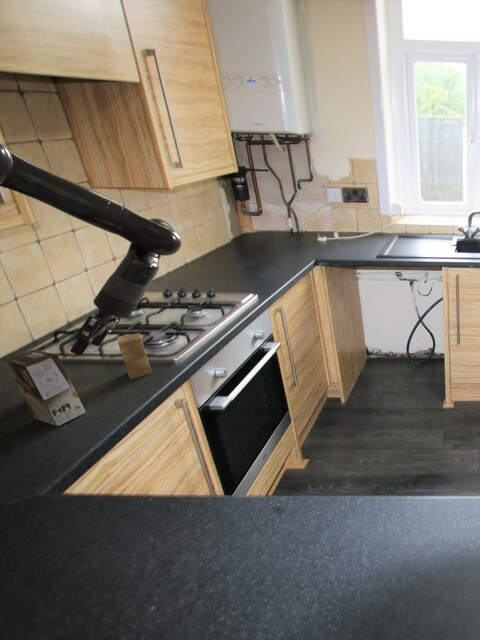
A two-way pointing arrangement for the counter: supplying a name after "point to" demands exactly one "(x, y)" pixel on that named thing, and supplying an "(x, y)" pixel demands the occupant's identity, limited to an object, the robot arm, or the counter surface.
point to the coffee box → (45, 386)
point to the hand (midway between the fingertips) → (85, 348)
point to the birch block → (134, 355)
